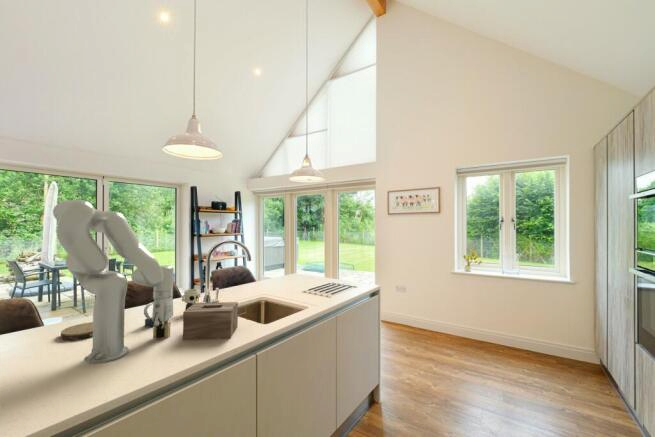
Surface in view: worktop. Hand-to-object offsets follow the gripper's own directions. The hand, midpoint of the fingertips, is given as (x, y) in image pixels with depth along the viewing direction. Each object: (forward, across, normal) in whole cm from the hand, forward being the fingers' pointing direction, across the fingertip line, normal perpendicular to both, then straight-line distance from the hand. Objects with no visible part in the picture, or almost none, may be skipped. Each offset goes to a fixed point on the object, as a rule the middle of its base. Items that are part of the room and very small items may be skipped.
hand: (161, 336), depth 127 cm
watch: (+1, +16, +12) cm, 20 cm away
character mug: (0, +34, 0) cm, 34 cm away
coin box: (0, +4, -20) cm, 21 cm away
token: (+1, 0, 0) cm, 1 cm away
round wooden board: (+1, +8, +37) cm, 37 cm away
